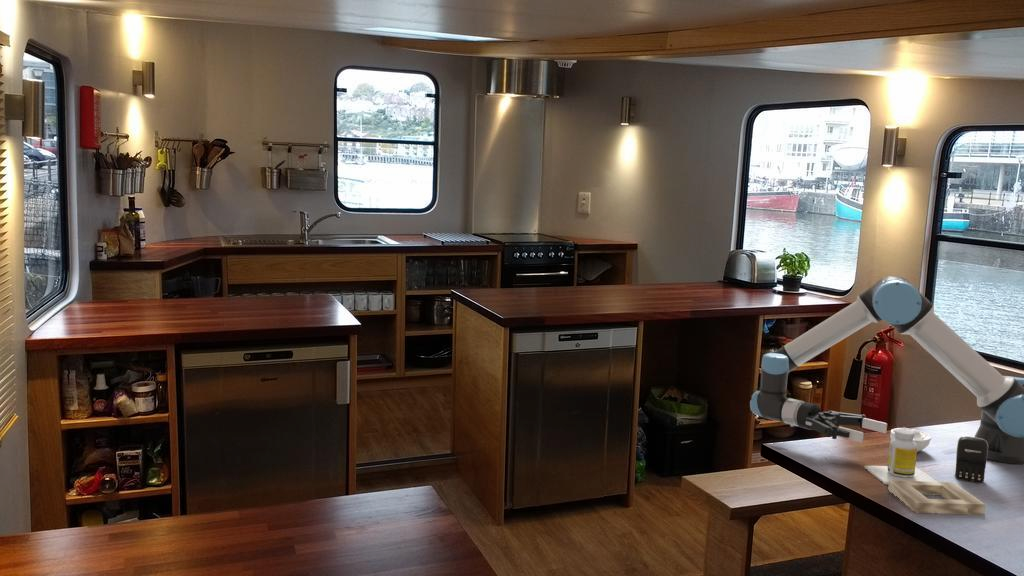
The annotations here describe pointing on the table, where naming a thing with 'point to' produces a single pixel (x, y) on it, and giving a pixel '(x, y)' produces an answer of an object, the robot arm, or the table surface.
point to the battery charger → (971, 459)
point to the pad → (885, 476)
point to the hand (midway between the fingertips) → (874, 433)
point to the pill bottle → (902, 454)
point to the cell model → (916, 438)
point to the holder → (953, 504)
